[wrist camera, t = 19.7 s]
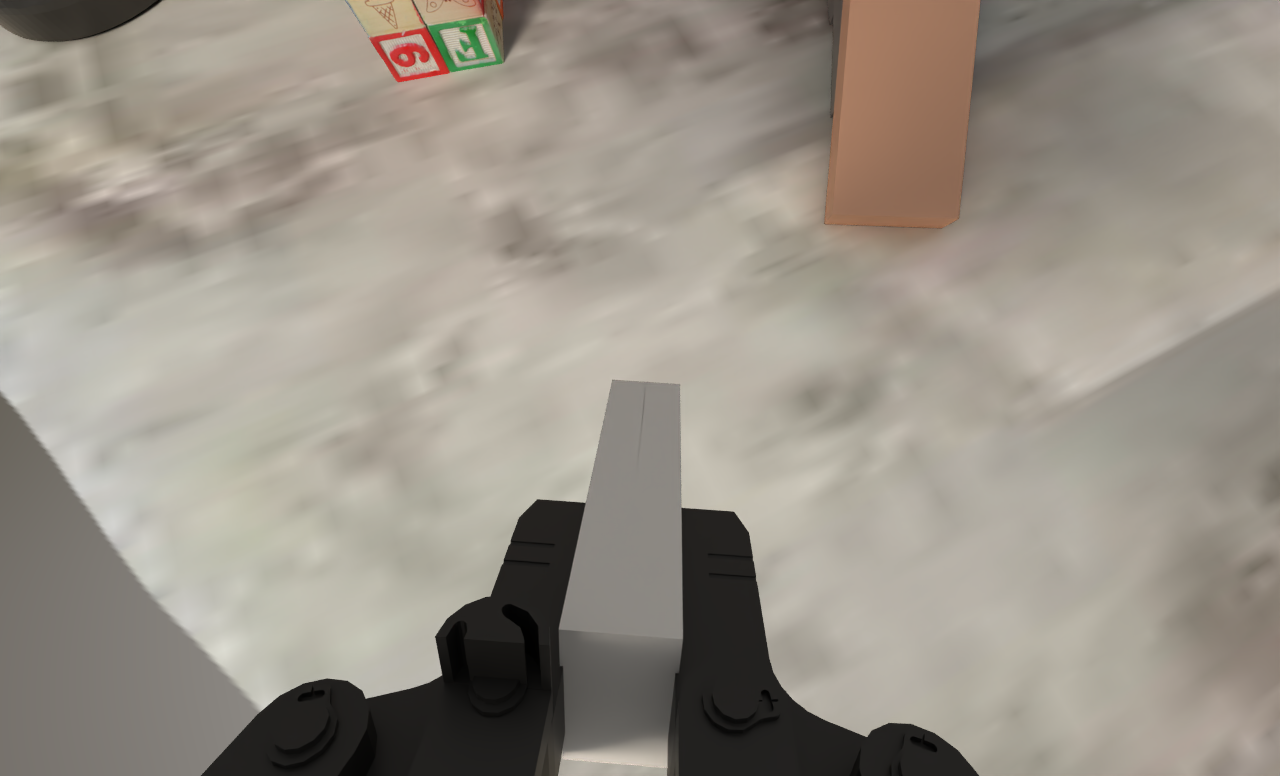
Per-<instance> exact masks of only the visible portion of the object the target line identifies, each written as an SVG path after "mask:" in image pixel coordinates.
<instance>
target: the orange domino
mask: <svg viewBox="0 0 1280 776" xmlns="http://www.w3.org/2000/svg"><path fill="white" fill-rule="evenodd" d="M979 9H980V0H843V7H842V19H841V31H840V43H839V54H838V66H837V78H836V90H835V102H834V114H833V126H832V138H831V150H830V162H829V174H828V186H827V198H826V210H825V222H824V224H838V225H866V226H894V227H922V228H943V227H945V226H947V225H949V224H950V223H952V222H954V221H956V220H958V219H959V212H960V202H961V192H962V182H963V172H964V162H965V151H966V141H967V131H968V121H969V111H970V100H971V90H972V80H973V70H974V60H975V50H976V39H977V29H978V19H979Z"/></svg>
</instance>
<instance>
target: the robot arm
mask: <svg viewBox="0 0 1280 776" xmlns="http://www.w3.org/2000/svg"><path fill="white" fill-rule="evenodd" d="M155 1H157V0H0V25H1V26H2V27H4V28H5V29H6V30H8V31H10V32H11V33H13V34H15V35H18V36H20V37H23V38H27V39H31V40H37V41H48V42H50V41H67V40H74V39H79V38H83V37H87V36H91V35H94V34H97V33H100V32H103V31H105V30H108V29H110V28H113V27H115V26H117V25H119V24H121V23H123V22H125V21H127V20H129V19H131V18H132V17H134V16H136V15H137V14H139V13H140V12H142V11H143V10H145V9H146V8H148V7H149V6H150V5H152V4H153V3H154V2H155ZM435 638H436V643H437V648H438V654H439V659H440V665H441V670H442V676H440V677H439V678H437V679H435V680H433V681H431V682H430V683H427V684H424V685H421V686H418V687H415V688H411V689H407V690H403V691H398V692H394V693H389V694H385V695H381V696H376V697H372V698H368V699H365V696H364V694H363V691H362V690H360V689H359V688H357V687H356V686H354V685H353V684H351V683H350V682H348V681H343V680H335V679H323V680H318V681H314V682H309V683H304V684H302V685H300V686H298V687H296V688H294V689H292V690H290V691H288V692H286V693H284V694H282V695H280V696H279V697H278V698H276V699H275V700H274V701H273V702H272V703H271V704H269V705H268V706H267V707H266V708H265V709H263V710H262V711H261V712H260V713H259V714H258V715H257V716H256V717H255V718H254V719H253V720H252V721H251V722H250V723H249V724H248V725H247V726H246V728H245V729H244V730H243V731H242V732H241V733H240V734H239V735H238V736H237V737H236V738H235V739H234V741H233V742H232V743H231V744H230V745H229V746H228V747H227V748H226V749H225V750H224V751H223V752H222V754H221V755H220V756H219V757H218V758H217V759H216V760H215V761H214V762H213V763H212V764H211V765H210V766H209V768H208V769H207V770H206V771H205V772H204V773H203V774H202V775H201V776H558V772H559V766H560V760H561V754H562V748H563V759H567V760H578V761H590V762H602V763H614V764H625V765H637V766H649V767H661V768H667V776H979V775H978V774H977V772H976V771H975V770H974V769H973V768H972V766H971V765H970V764H969V763H968V762H967V761H966V759H965V758H964V757H963V756H962V755H961V753H960V752H959V751H958V750H957V749H955V748H954V747H953V746H951V745H950V744H949V743H947V742H946V741H945V740H943V739H942V738H940V737H939V736H938V735H936V734H935V733H933V732H930V731H927V730H925V729H922V728H920V727H917V726H915V725H912V724H898V723H888V724H886V725H884V726H881V727H879V728H877V729H874V730H872V731H871V733H870V734H869V735H868V737H865V736H862V735H860V734H857V733H855V732H853V731H850V730H848V729H845V728H843V727H840V726H838V725H835V724H833V723H830V722H828V721H825V720H823V719H821V718H819V717H817V716H815V715H814V714H812V713H810V712H808V711H806V710H805V709H804V708H803V707H801V706H800V705H799V704H797V703H796V702H795V701H794V700H793V699H792V698H791V697H790V696H789V695H788V694H787V693H786V691H785V690H784V689H783V688H782V687H781V685H780V683H779V682H778V680H777V678H776V676H775V675H774V673H773V670H772V666H771V663H770V660H769V654H768V648H767V642H766V635H765V629H764V623H763V617H762V611H761V604H760V598H759V592H758V586H757V582H756V573H755V567H754V561H753V555H752V549H751V543H750V536H749V532H748V531H747V529H746V528H745V527H744V525H743V524H742V522H741V521H740V520H739V518H738V517H737V515H736V514H735V513H734V512H730V511H717V510H703V509H689V508H681V431H680V384H668V383H653V382H638V381H623V380H612V384H611V389H610V394H609V398H608V403H607V407H606V412H605V417H604V421H603V426H602V431H601V435H600V440H599V444H598V449H597V454H596V458H595V463H594V468H593V472H592V477H591V481H590V486H589V491H588V495H587V500H586V503H580V502H566V501H552V500H539V499H537V500H536V501H535V502H534V503H533V504H532V505H531V506H530V507H529V508H528V509H527V510H526V511H525V512H524V513H523V514H522V515H521V516H520V517H519V519H518V522H517V525H516V528H515V530H514V533H513V536H512V539H511V544H510V545H509V547H508V550H507V552H506V555H505V558H504V563H503V564H502V566H501V569H500V572H499V574H498V577H497V580H496V583H495V585H494V588H493V591H492V594H491V597H485V598H482V599H479V600H477V601H474V602H472V603H469V604H466V605H464V606H463V607H462V608H461V609H459V610H458V611H457V612H455V613H454V614H453V615H451V616H450V617H449V618H447V620H446V621H445V623H444V624H443V626H442V627H441V629H440V630H439V632H438V633H437V635H436V636H435Z"/></svg>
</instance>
